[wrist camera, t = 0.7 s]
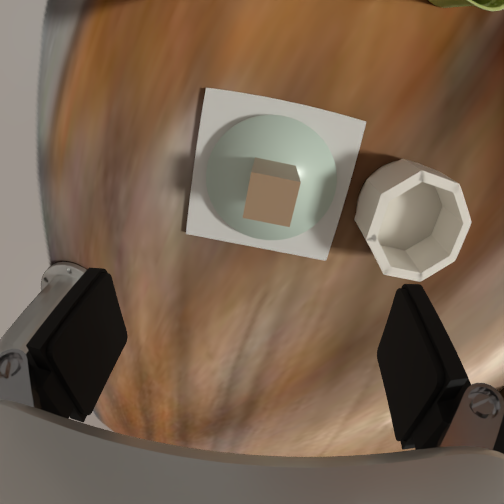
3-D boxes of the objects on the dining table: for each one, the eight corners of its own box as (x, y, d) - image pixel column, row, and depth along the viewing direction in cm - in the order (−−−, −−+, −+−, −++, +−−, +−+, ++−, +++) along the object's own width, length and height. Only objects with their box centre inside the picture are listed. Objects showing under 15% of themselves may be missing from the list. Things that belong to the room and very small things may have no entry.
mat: (325, 258, 37) (325, 260, 36) (187, 231, 36) (185, 233, 36) (364, 121, 29) (366, 121, 29) (207, 87, 29) (205, 87, 28)
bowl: (423, 259, 36) (442, 286, 31) (343, 241, 36) (354, 269, 30) (455, 176, 31) (482, 193, 26) (372, 147, 31) (391, 159, 25)
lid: (316, 246, 36) (325, 281, 29) (200, 223, 35) (185, 254, 29) (348, 131, 29) (368, 142, 23) (218, 104, 29) (203, 107, 23)
